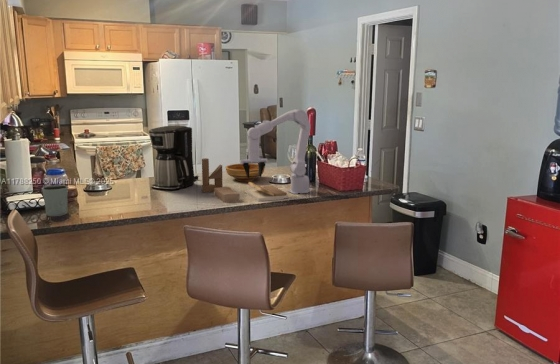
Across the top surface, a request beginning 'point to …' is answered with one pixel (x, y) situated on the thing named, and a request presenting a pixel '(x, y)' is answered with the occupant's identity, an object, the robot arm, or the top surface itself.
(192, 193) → the top surface
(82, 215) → the top surface
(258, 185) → the plank
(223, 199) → the brick
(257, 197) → the floor board
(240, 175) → the wooden bowl
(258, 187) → the plank
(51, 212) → the gray cup
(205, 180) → the brown wooden bracket
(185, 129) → the coffee maker
